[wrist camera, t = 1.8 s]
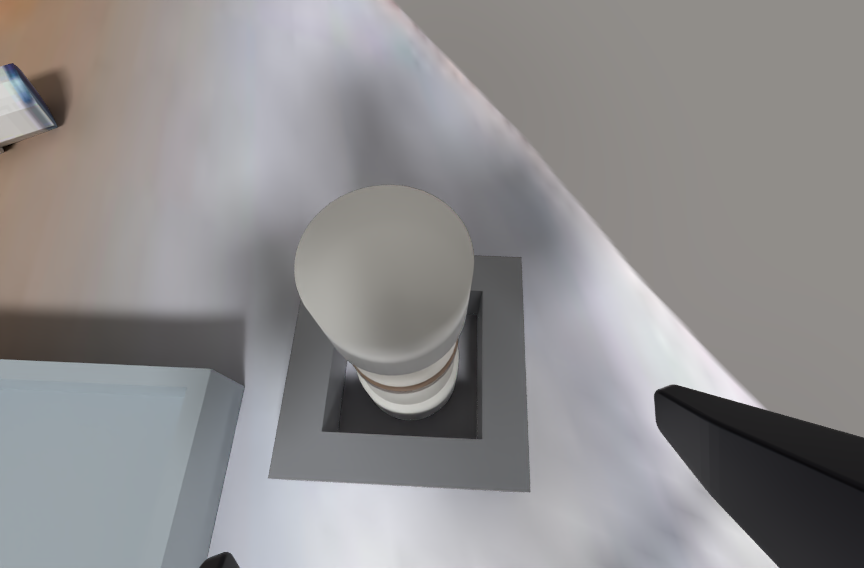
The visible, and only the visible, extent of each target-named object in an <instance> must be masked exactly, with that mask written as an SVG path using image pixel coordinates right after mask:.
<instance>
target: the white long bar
mask: <svg viewBox="0 0 864 568" xmlns="http://www.w3.org/2000/svg"><path fill="white" fill-rule="evenodd" d="M57 127H58V126H57V124H56V122H55V120H54V118H53V116H52V114H51V113H50V111H49V109H48V107H47V105H46V104H45V102H44V101H43V99H42V98H41V96H40V95H39V93H38V92H37V90H36V89H35V88H34V87H33V85H32V84H31V83H30V81H29V80H28V79H27V77H26V76H25V75H24V74H23V72H22V71H21V70H20V69H19V68H18V67H17V66H16V65H14V64H13V63H12V64H8V65H4V66H1V67H0V154H1V153H4V150H3V148H2V147H3V146H6V145H9V144H12V143H15V142H18V141H21V140H24V139H27V138H30V137H33V136H35V135H38V134H41V133H44V132H46V131H49V130H52V129H55V128H57Z"/></svg>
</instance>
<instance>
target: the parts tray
mask: <svg viewBox="0 0 864 568" xmlns="http://www.w3.org/2000/svg"><path fill="white" fill-rule="evenodd" d="M243 392H244V386H243V385H241V384H239V383H237V382H235V381H233V380H231V379H230V378H228V377H226V376H224V375H222V374H220V373H218V372H216V371H215V370H213V369H205V368H182V367H160V366H138V365H116V364H93V363H71V362H49V361H27V360H4V359H0V568H199V567H200V566H201V564H202V563H203V562H204V561H205V560H206V559H207V555H208V551H209V546H210V542H211V537H212V533H213V528H214V524H215V519H216V514H217V510H218V505H219V501H220V496H221V492H222V487H223V483H224V478H225V473H226V469H227V464H228V460H229V455H230V451H231V446H232V442H233V437H234V433H235V428H236V423H237V419H238V414H239V410H240V405H241V401H242V396H243Z"/></svg>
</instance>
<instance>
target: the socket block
mask: <svg viewBox="0 0 864 568" xmlns="http://www.w3.org/2000/svg"><path fill="white" fill-rule="evenodd" d="M467 314H478V324H477V439H462V438H441V437H421V436H401V435H380V434H360V433H340V432H338V428H339V420H340V412H341V404H342V397H343V389H344V381H345V373H346V366H347V360H346V359H345V358H344V357H343V356H342V355H341V354H340V353H339V352H338V351H337V350H336V348H335V347H334V346H333V344H332V343H331V342H330V340H329V339H328V337H327V336H326V335H325V333H324V332H323V330H322V329H321V328H320V326H319V325H318V324H317V322H316V321H315V319H314V318H313V317H312V315H311V314H310V313H309V311H308V310H307V308H306V307H305V306H304V304H303V302H302V300H301V301H300V306H299V312H298V317H297V323H296V328H295V334H294V339H293V345H292V350H291V355H290V361H289V366H288V372H287V377H286V383H285V388H284V394H283V399H282V405H281V410H280V416H279V421H278V426H277V432H276V437H275V443H274V448H273V454H272V459H271V465H270V470H269V476H268V478H271V479H284V480H301V481H320V482H339V483H357V484H376V485H395V486H414V487H433V488H452V489H471V490H490V491H509V492H530V473H529V446H528V420H527V394H526V368H525V341H524V315H523V289H522V263H521V257H501V256H474V270H473V277H472V283H471V290H470V296H469V302H468V308H467Z"/></svg>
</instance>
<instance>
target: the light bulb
mask: <svg viewBox="0 0 864 568" xmlns="http://www.w3.org/2000/svg"><path fill="white" fill-rule="evenodd" d="M473 270H474V251H473V246H472V241H471V239H470V236H469V233H468V231H467V229H466V227H465V225H464V223H463V222H462V221H461V219H460V218H459V216H458V215H457V214H456V213H455V212H454V211H453V210H452V209H451V208H450V207H449V206H448V205H447V204H445V203H444V202H443V201H441V200H440V199H438V198H437V197H435V196H433V195H431V194H429V193H427V192H424V191H422V190H419V189H416V188H412V187H407V186H401V185H377V186H370V187H366V188H361V189H358V190H355V191H352V192H350V193H347V194H345V195H343V196H341V197H339V198H338V199H336V200H334V201H333V202H331V203H330V204H329V205H327V206H326V207H325V208H324V209H322V210H321V211H320V212H319V213H318V214H317V215H316V216H315V217H314V218H313V220H312V221H311V222H310V224H309V225H308V226H307V228H306V230H305V231H304V233H303V235H302V237H301V239H300V242H299V244H298V247H297V251H296V255H295V263H294V276H295V282H296V287H297V290H298V293H299V296H300V298H301V300H302V302H303V304H304V306H305V307H306V308H307V310H308V311H309V313H310V314H311V315H312V317H313V318H314V319H315V321H316V322H317V324H318V325H319V326H320V328H321V329H322V330H323V332H324V333H325V335H326V336H327V337H328V339H329V340H330V342H331V343H332V344H333V346H334V347H335V348H336V350H337V351H338V352H339V353H340V354H341V355H342V356H343V357H344V358H345V359H346V360H347V361H349V362H350V363H351V364H353V366H354V367H355V369H356V370H357V374H358V377H359V379H360V382H361V384H362V385H363V387H364V388H365V390H366V391H367V393H368V394H369V395H370V397H371V398H372V400H373V401H374V402H375V404H376V405H377V406H378V407H379V408H380V409H381V410H382V411H384V412H385V413H387V414H388V415H390V416H392V417H395V418H398V419H402V420H418V419H423V418H426V417H428V416H431V415H433V414H434V413H436V412H437V411H439V410H440V409H441V408H442V407H443V406H444V405H445V404H446V403H447V401H448V400H449V398H450V397H451V395H452V393H453V390H454V387H455V383H456V378H457V371H458V365H459V351H458V346H457V345H458V338H459V336H460V334H461V332H462V329H463V327H464V324H465V319H466V315H467V308H468V302H469V296H470V290H471V283H472V277H473Z"/></svg>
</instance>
